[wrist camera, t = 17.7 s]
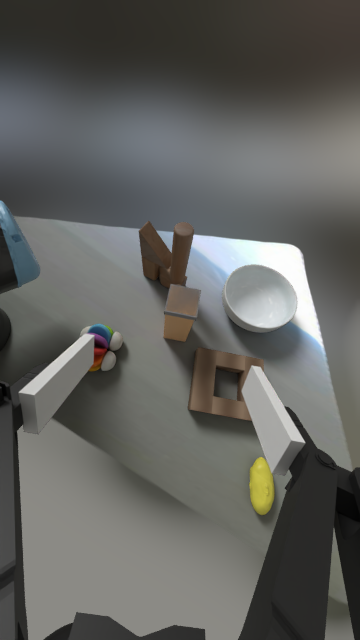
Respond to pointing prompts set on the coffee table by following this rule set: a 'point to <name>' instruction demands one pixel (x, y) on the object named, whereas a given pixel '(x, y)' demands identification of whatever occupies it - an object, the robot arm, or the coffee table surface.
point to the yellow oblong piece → (261, 486)
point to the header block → (205, 379)
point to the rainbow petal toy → (103, 346)
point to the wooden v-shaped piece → (166, 254)
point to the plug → (180, 311)
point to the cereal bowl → (259, 298)
